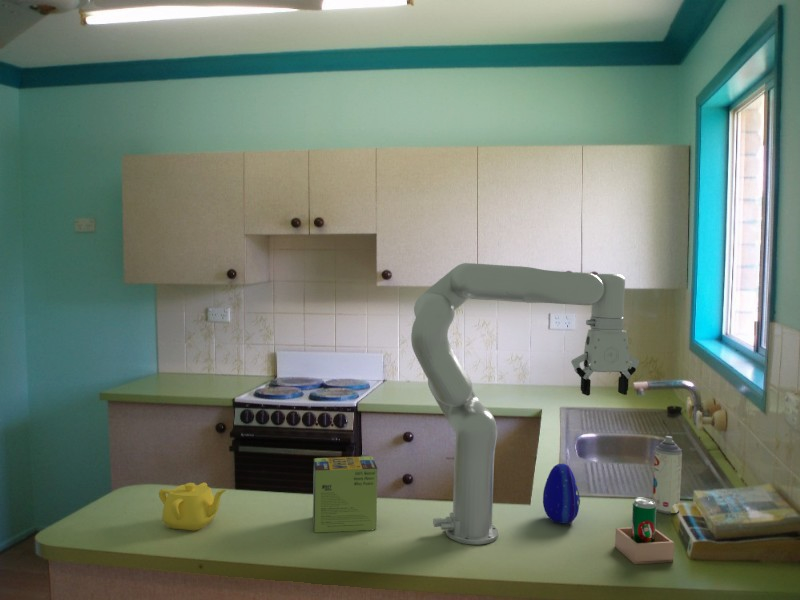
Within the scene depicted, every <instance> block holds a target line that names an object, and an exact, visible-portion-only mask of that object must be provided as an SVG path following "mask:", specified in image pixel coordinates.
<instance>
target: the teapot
mask: <svg viewBox="0 0 800 600" xmlns="http://www.w3.org/2000/svg"><path fill="white" fill-rule="evenodd" d="M224 492H227V489H220V490H217V492H215V495H214V494H213V491H212V488H211V487H209V486H208V484H207V482H201V483H199V484H196V483H195V482H187V483H185V484H180V485H178V486H177V487H175V488H173V489H170V488H169V489H168V488H162V489H160V490H159V491H158V496H159V498H160V502H162V504H163V509H162V517H161V518H162V523H163V524H164V526H165V527H168V528H171V529H172V530H178V529H179V530H187V531H188V530H189V531H190V532H196V531H198V530H201V529H203V528H205V527H206V526H207V525H209V524H210V523H211V522H212V521H213V520H214V518H215V517H216V515H217V513H218V510H219V509H220V505H221V504H220V503H221V496H222V495H223V493H224ZM166 494H167V495H166Z"/></svg>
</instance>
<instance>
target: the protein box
mask: <svg viewBox="0 0 800 600" xmlns="http://www.w3.org/2000/svg"><path fill="white" fill-rule="evenodd" d="M312 473H313V474H312V475H313V476H312V477H313V482H312V484H313V485H312V487H313V490H312V491H313V493H312V495H313V497H312V498H313V499H312V501H313V502H312V522H313V532H314V533H317V534H319V533H339V532H342V531H343V532H359V531H358V530H366V531H373V530H372V529H376V530H377V516H378V515H377V512H378V511H377V510H378V509H377V507H378V506H377V504H378V467H377V464H376V462H375V460H374V457H373V456H342V457H339V456H338V457H317V458H313V471H312Z"/></svg>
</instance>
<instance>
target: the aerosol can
mask: <svg viewBox="0 0 800 600" xmlns="http://www.w3.org/2000/svg"><path fill="white" fill-rule="evenodd" d="M682 458H683V452H682V448H681V447H680V446H678V444H677V443H676V442H675V441H674V440H673V436H671V435H665V439H664V440H663V441H662V442H659V444H657V445H655V448H654V459H653V460H654V461H653V481H652V483H653V485H652V500H654V501H655V505H656V513H659V514H660V513H661V514H664V515H672V514H671V509H672V506H673V505H674V504H678V503H681V502H680V501H681V481H682V463H683V462H682V460H683V459H682Z"/></svg>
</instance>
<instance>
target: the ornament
mask: <svg viewBox="0 0 800 600" xmlns="http://www.w3.org/2000/svg"><path fill="white" fill-rule="evenodd" d="M542 496H543V497H542V504H543V509H544V512H545V514H546V516H547V517H548V519H550V520H551V521H552V522H554V523H558V524H570V523H573V522H574V520H575V519H576V518H577V517H578V516H577V515H578V513H579V509H580V505H581V499H580V498H581V497H580V493H579V489H578V485H577V481H576V477H575V476H574V472H573V470H572V469H571V467H570V466H569V465H568V464H566V463H558V464H556V465H554V466H553V467H552V468H551V470H550V472H549V474H548V476H547V478H546V482H545V484H544V487H543V493H542Z"/></svg>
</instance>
